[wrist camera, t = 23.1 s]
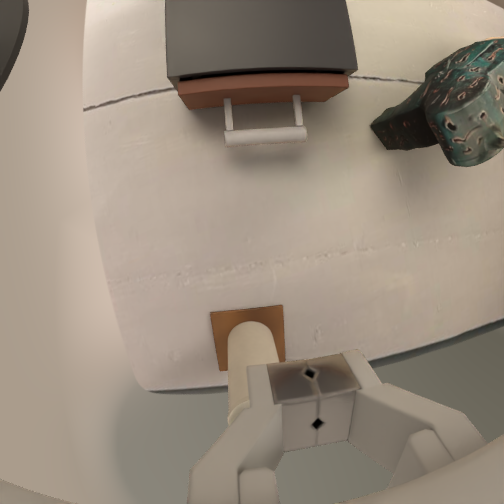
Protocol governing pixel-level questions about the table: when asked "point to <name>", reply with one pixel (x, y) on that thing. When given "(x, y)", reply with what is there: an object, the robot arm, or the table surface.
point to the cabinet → (257, 37)
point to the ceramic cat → (453, 108)
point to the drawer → (261, 98)
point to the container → (246, 361)
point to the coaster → (230, 319)
